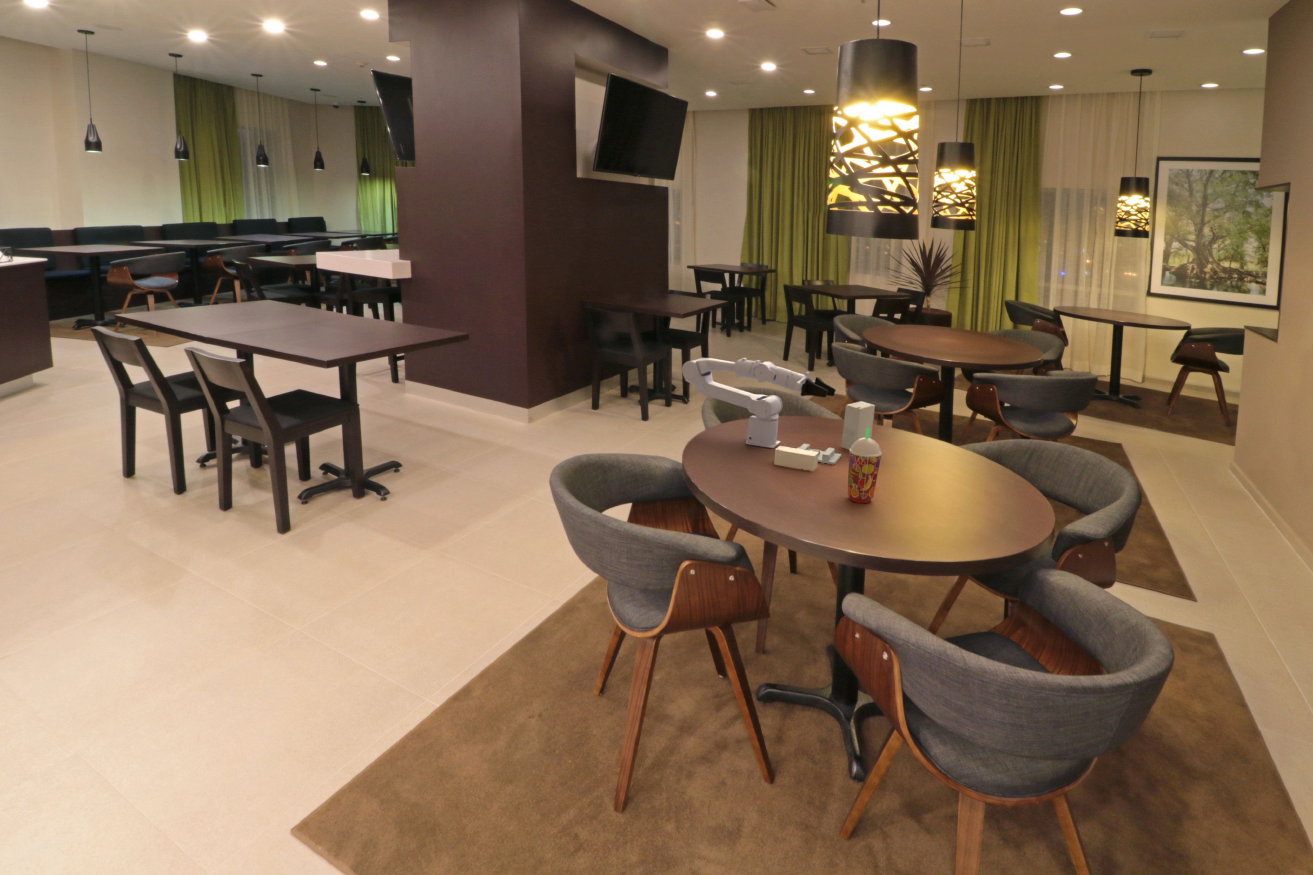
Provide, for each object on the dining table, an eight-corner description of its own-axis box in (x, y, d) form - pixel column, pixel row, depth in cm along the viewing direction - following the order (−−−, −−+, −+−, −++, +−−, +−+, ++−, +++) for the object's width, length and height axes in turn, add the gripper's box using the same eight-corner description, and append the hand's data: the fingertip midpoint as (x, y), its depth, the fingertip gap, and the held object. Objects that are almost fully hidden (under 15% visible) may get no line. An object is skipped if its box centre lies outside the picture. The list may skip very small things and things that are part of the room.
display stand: (789, 457, 245) (789, 449, 245) (797, 449, 254) (798, 441, 253) (833, 465, 240) (834, 457, 239) (841, 456, 249) (842, 448, 248)
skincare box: (856, 443, 263) (861, 400, 259) (871, 448, 259) (876, 404, 254) (840, 447, 258) (844, 403, 254) (855, 452, 253) (860, 407, 249)
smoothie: (839, 494, 216) (847, 423, 210) (869, 494, 216) (878, 424, 211) (849, 505, 208) (858, 432, 202) (880, 505, 208) (889, 432, 203)
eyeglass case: (774, 465, 238) (775, 449, 237) (778, 461, 242) (779, 445, 241) (813, 472, 233) (814, 456, 232) (816, 468, 237) (818, 452, 236)
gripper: (785, 368, 242) (826, 381, 235) (802, 367, 254) (841, 380, 248) (779, 390, 243) (819, 404, 237) (796, 388, 256) (835, 401, 250)
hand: (830, 393), depth 243 cm, fingers open, 7 cm apart
